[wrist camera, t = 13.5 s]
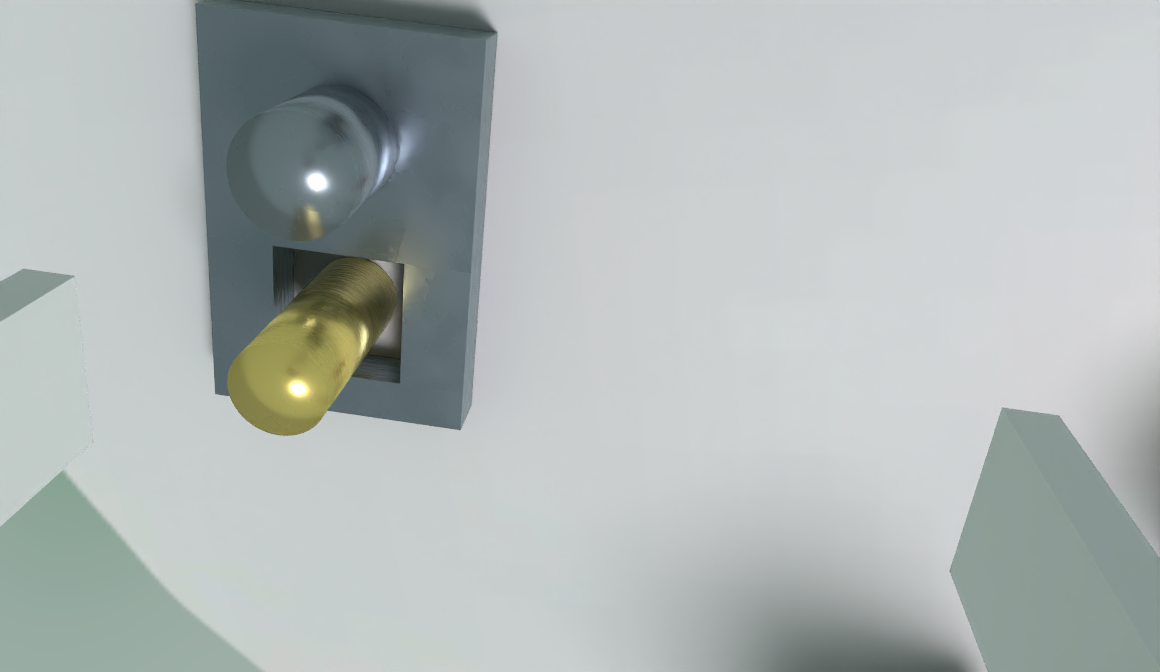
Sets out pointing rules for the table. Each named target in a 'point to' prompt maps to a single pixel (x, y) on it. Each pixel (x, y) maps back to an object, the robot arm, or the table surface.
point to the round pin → (312, 347)
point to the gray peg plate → (348, 183)
